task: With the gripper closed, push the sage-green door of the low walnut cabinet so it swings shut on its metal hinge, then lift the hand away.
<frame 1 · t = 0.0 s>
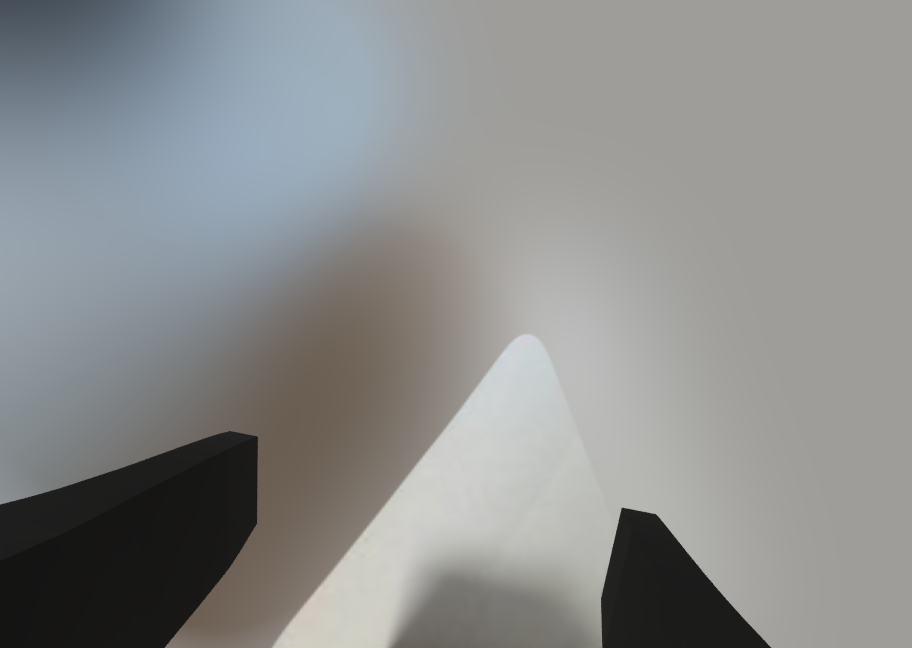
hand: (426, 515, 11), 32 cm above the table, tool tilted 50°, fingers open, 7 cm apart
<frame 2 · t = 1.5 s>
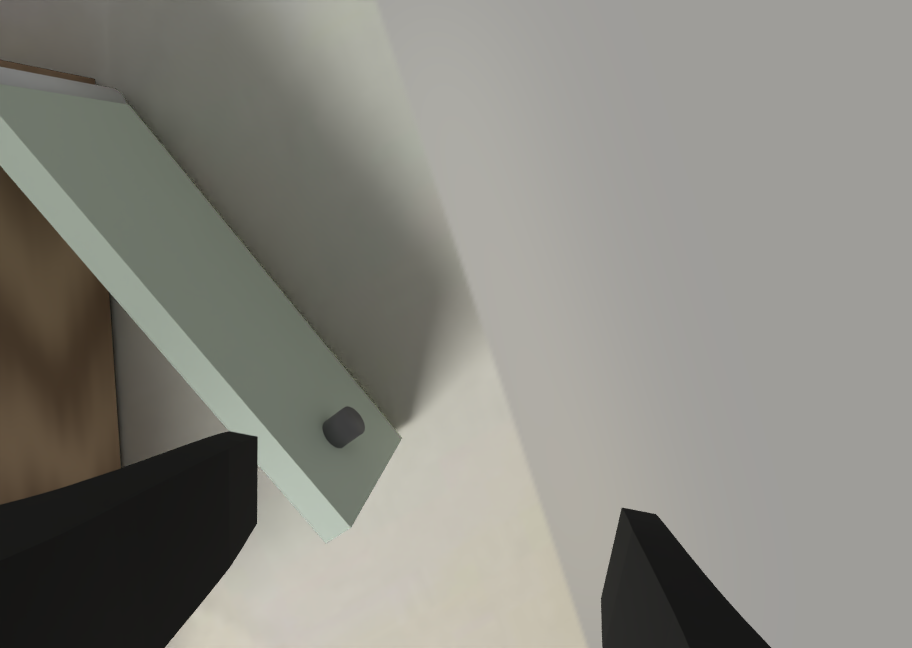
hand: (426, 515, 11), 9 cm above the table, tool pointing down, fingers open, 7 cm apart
door: (216, 284, 17), point 3 cm above the table, hinge at 45.0°
cabinet: (12, 305, 23), on the table
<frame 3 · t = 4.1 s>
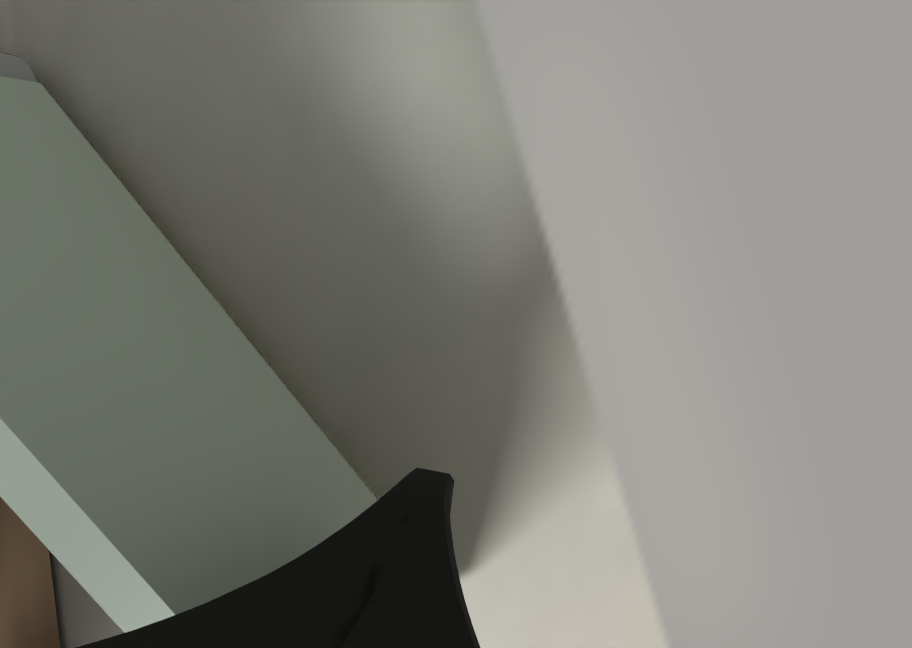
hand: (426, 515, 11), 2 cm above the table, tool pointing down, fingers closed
door: (168, 389, 10), point 3 cm above the table, hinge at 43.5°, touching gripper
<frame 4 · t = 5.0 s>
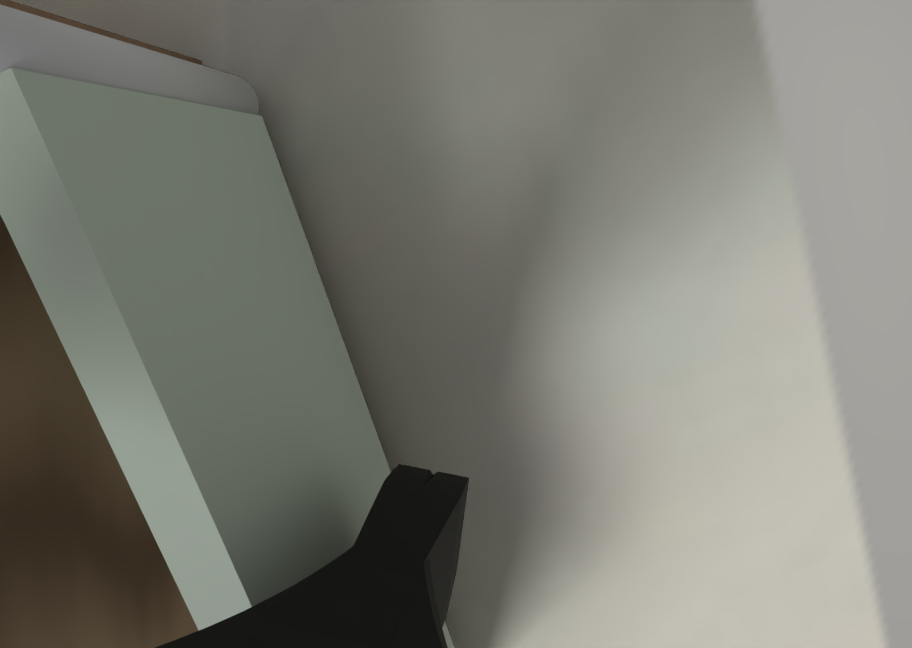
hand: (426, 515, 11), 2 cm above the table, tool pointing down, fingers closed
door: (323, 493, 10), point 3 cm above the table, hinge at 23.5°, touching gripper
cabinet: (54, 414, 15), on the table
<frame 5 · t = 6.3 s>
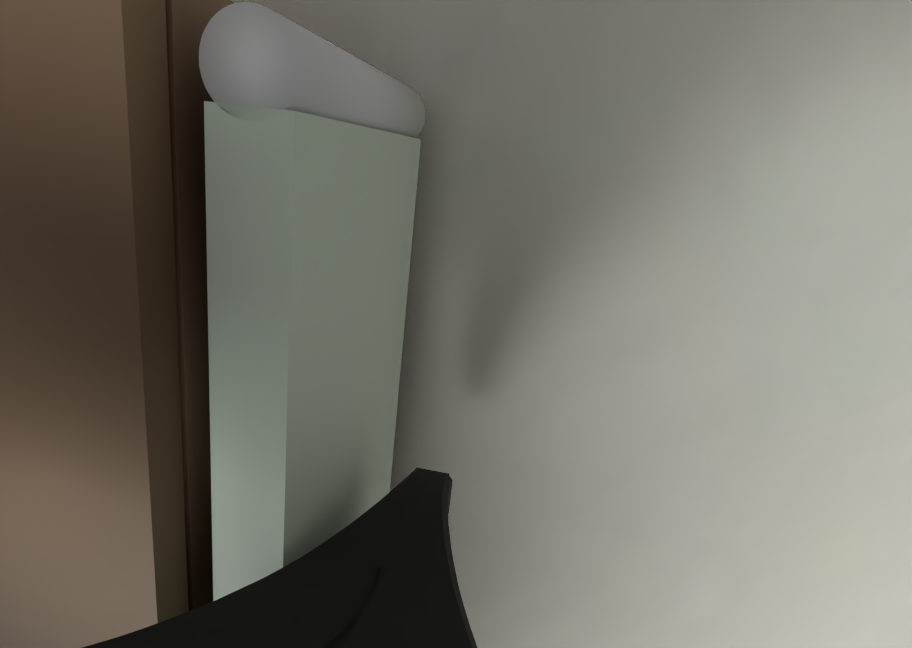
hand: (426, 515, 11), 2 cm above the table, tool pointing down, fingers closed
door: (345, 532, 10), point 3 cm above the table, hinge at -0.2°, touching gripper
cabinet: (172, 434, 14), on the table
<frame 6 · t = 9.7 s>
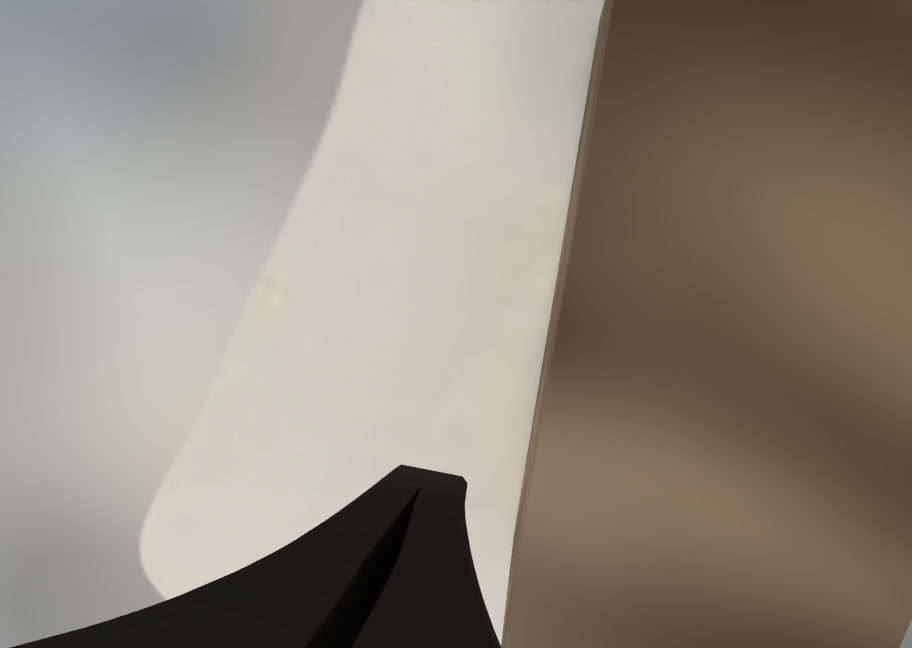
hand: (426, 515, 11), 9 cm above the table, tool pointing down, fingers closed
cabinet: (688, 333, 18), on the table
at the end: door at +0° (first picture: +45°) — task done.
